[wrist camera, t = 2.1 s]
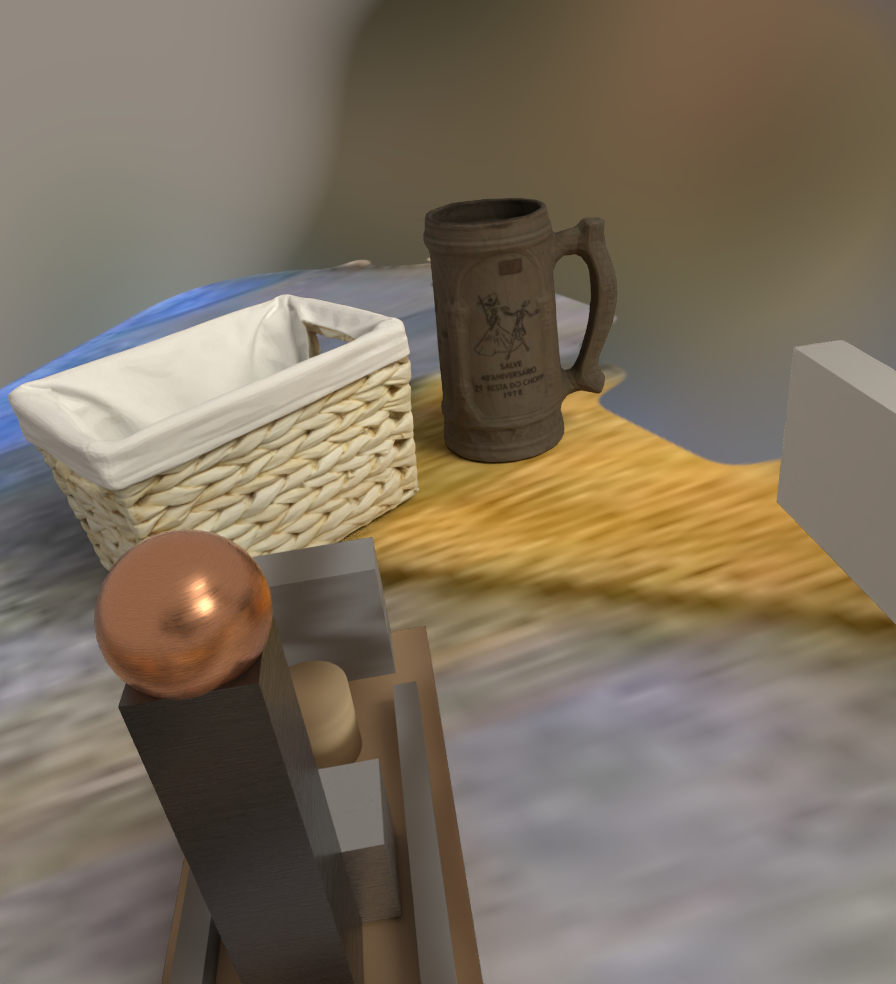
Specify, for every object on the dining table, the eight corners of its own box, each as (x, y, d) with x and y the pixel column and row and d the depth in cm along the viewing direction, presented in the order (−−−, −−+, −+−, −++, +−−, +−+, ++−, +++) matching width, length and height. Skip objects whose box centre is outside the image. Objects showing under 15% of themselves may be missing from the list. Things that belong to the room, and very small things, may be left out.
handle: (394, 828, 35) (302, 426, 25) (409, 1023, 28) (290, 572, 18) (242, 856, 34) (88, 460, 24) (219, 1061, 27) (-7, 622, 18)
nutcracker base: (429, 652, 47) (408, 525, 43) (505, 1124, 27) (479, 976, 22) (228, 687, 47) (185, 562, 42) (146, 1198, 26) (45, 1061, 22)
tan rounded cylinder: (360, 713, 41) (346, 654, 39) (363, 774, 38) (348, 713, 36) (283, 726, 41) (265, 668, 39) (279, 789, 37) (259, 729, 35)
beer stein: (450, 475, 66) (436, 225, 56) (426, 423, 75) (411, 200, 65) (625, 450, 68) (642, 206, 58) (581, 403, 77) (589, 185, 67)
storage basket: (168, 657, 50) (87, 450, 43) (71, 566, 61) (-6, 387, 53) (441, 496, 63) (417, 316, 56) (323, 444, 74) (288, 288, 67)
